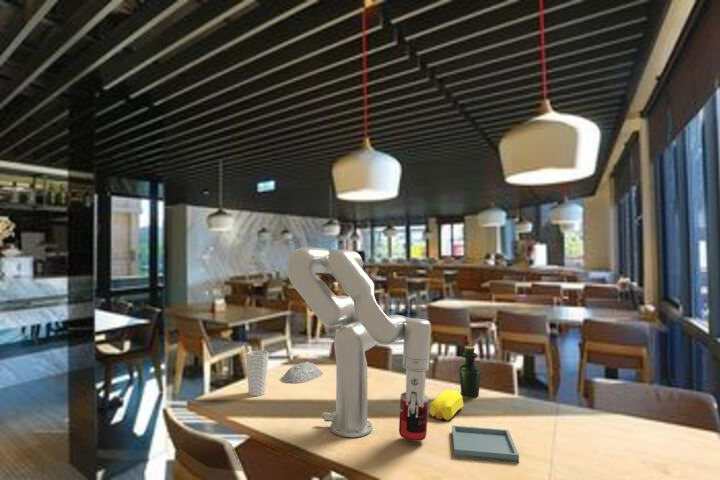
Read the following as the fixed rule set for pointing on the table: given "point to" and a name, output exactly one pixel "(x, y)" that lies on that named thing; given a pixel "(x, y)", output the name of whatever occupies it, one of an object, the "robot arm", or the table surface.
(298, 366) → the grey rock
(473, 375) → the potion bottle
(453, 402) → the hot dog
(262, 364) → the cup
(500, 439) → the tray
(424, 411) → the canned food
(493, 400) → the table surface
